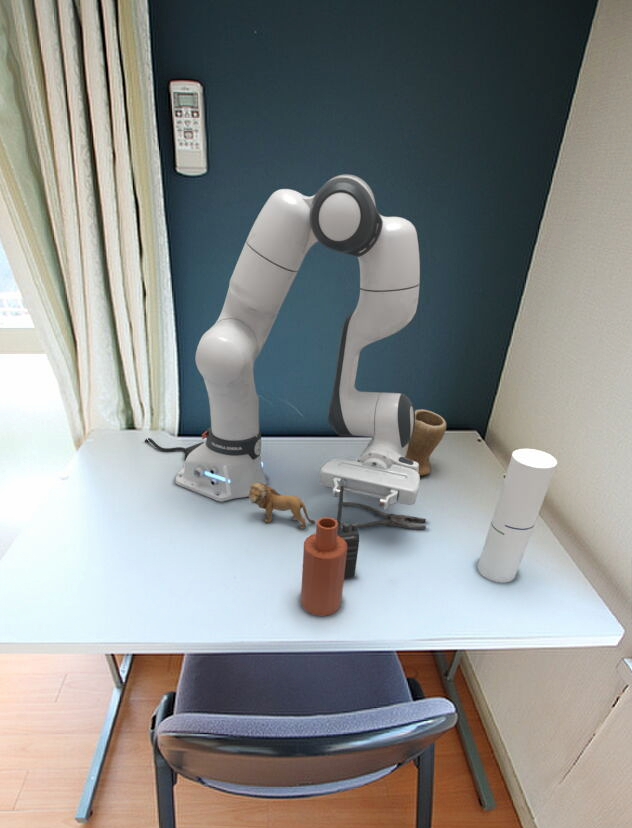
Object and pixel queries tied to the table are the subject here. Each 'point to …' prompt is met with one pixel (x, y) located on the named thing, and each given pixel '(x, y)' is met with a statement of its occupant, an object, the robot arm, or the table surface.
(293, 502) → the lion figurine
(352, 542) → the walkie-talkie
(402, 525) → the pliers
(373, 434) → the robot arm
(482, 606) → the table surface
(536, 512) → the cylindrical container
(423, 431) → the stone cup
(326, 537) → the bottle
